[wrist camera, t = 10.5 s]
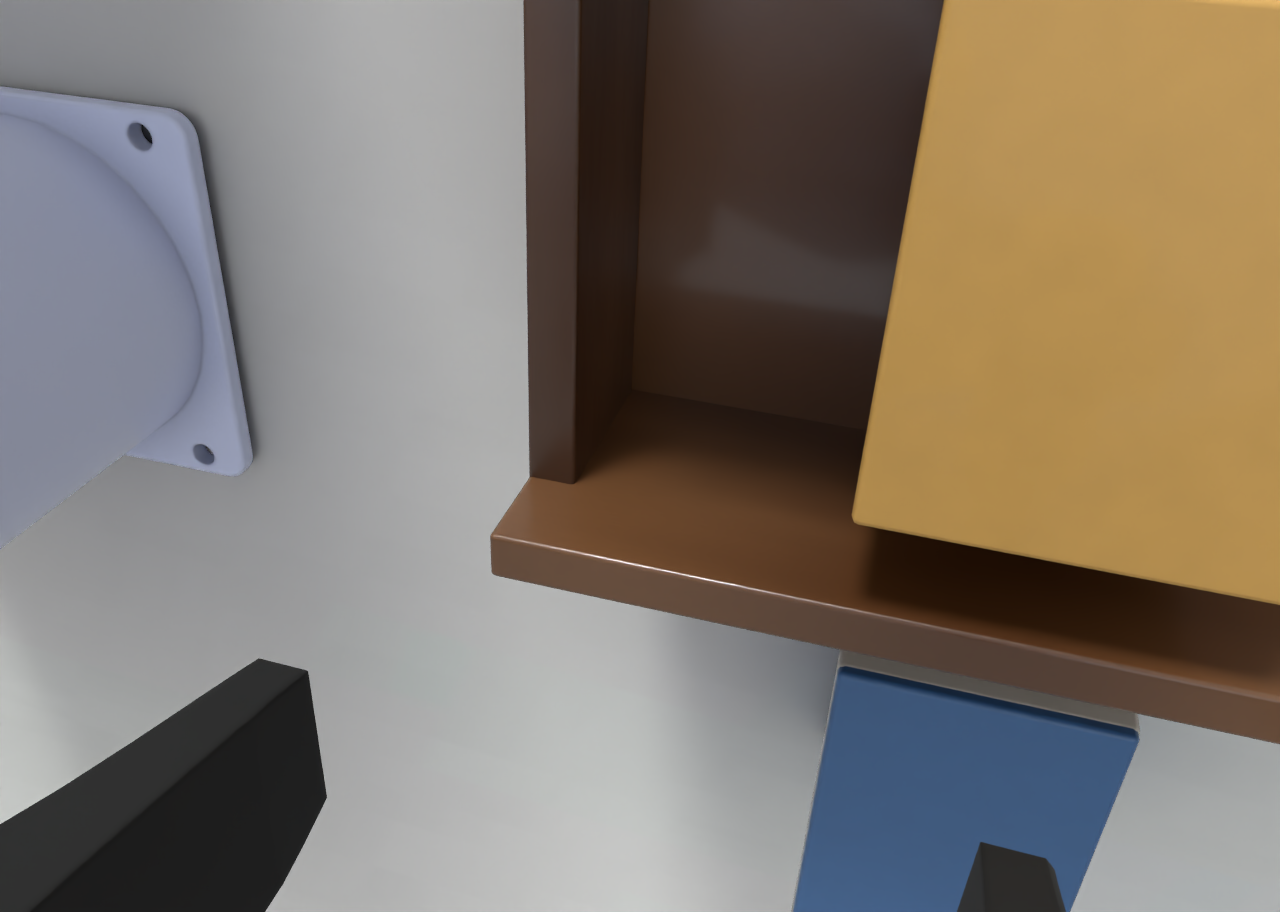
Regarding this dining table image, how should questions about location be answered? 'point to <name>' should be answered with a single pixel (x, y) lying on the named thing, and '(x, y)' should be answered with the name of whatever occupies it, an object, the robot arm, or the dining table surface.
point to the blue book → (951, 785)
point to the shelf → (782, 364)
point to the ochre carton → (1091, 294)
